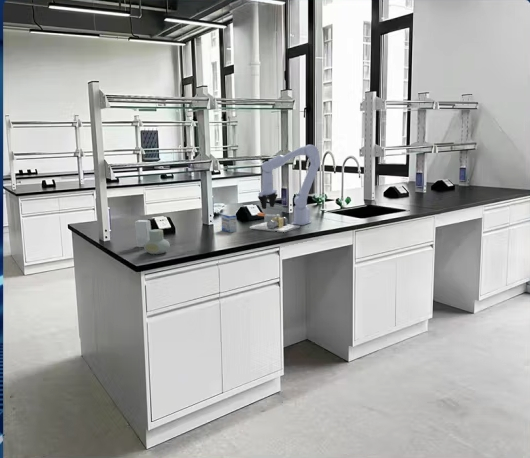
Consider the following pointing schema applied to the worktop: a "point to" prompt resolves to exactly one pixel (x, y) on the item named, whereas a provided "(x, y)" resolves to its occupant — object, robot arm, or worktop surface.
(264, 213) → the lever
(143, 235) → the skincare box
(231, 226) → the medicine box
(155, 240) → the air freshener
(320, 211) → the worktop surface
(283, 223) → the valve rig
